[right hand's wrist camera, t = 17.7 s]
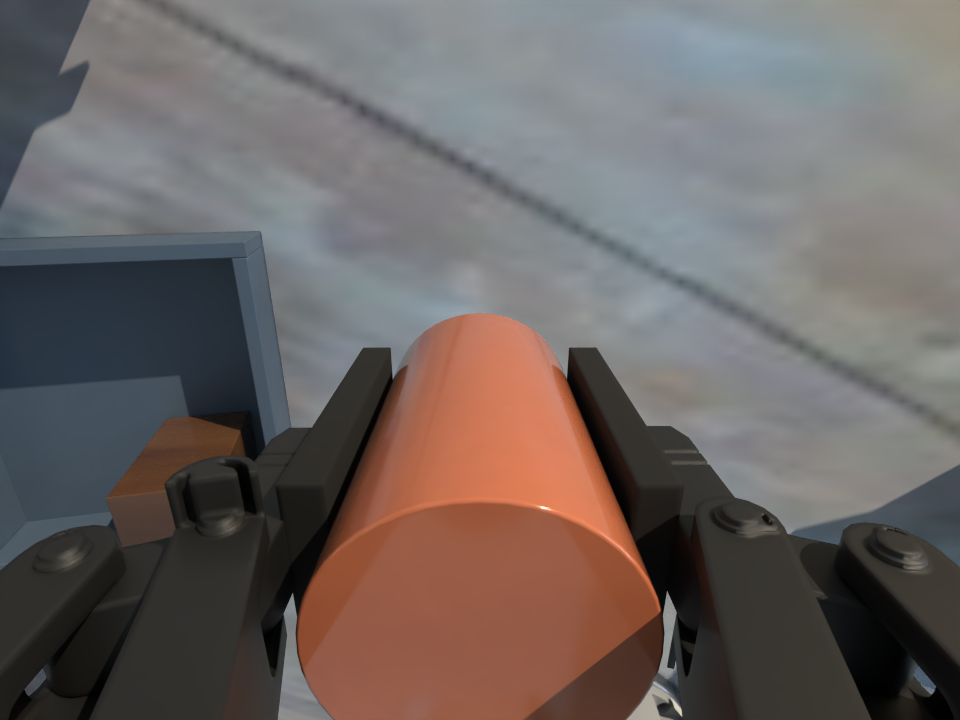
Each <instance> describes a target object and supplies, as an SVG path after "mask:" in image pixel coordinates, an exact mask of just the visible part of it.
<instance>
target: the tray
mask: <svg viewBox="0 0 960 720" xmlns="http://www.w3.org/2000/svg"><path fill="white" fill-rule="evenodd" d="M241 411H249V412H250V416H251V421H252V427H253V432H254V437H255V442H256V447H257V453H258V456H259V455H261V452H262V451H263V450H264V448H265V447H266V446H267V444H268V443H269V442H270V440H271V439H273V438H274V437H276V436H277V435H279V434H280V433H282V432H284V431H285V430H287V429H288V428H291V422H290V416H289V409H288V403H287V396H286V390H285V383H284V377H283V371H282V364H281V358H280V351H279V345H278V338H277V332H276V326H275V319H274V313H273V306H272V300H271V293H270V287H269V280H268V274H267V268H266V261H265V255H264V248H263V242H262V235H261V231H247V232H212V233H177V234H142V235H106V236H71V237H36V238H1V239H0V570H1V569H3V568H4V567H5V566H6V565H7V564H8V563H10V562H11V561H12V560H13V559H14V558H15V557H17V556H18V555H19V554H20V553H22V552H23V551H25V550H26V549H28V548H29V547H31V546H32V545H34V544H35V543H37V542H39V541H41V540H43V539H45V538H47V537H49V536H51V535H53V534H55V533H57V532H60V531H63V530H68V529H70V528H74V527H81V526H89V525H101V526H108V527H110V528H111V529H113V530H114V531H115V532H117V531H116V528H115V525H114V522H113V519H112V516H111V513H110V510H109V507H108V504H107V501H106V497H107V496H108V495H109V493H110V492H111V491H112V489H113V488H114V487H115V486H116V484H117V483H118V482H119V480H120V479H121V478H122V476H123V475H124V474H125V472H126V471H127V470H128V469H129V467H130V466H131V465H132V463H133V462H134V461H135V459H136V458H137V457H138V455H139V454H140V453H141V452H142V450H143V449H144V448H145V446H146V445H147V444H148V442H149V441H150V440H151V438H152V437H153V436H154V435H155V433H156V432H157V431H158V429H159V428H160V427H161V425H162V424H163V423H164V421H165V420H166V419H169V418H179V417H190V416H200V415H210V414H221V413H231V412H241ZM117 535H118V534H117ZM118 538H119V537H118ZM119 541H120V540H119ZM120 544H121V543H120ZM121 548H122V546H121Z"/></svg>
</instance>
